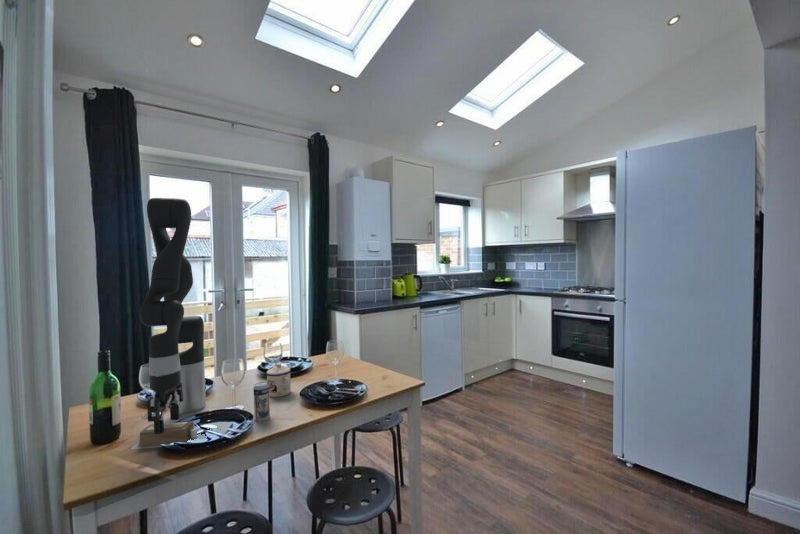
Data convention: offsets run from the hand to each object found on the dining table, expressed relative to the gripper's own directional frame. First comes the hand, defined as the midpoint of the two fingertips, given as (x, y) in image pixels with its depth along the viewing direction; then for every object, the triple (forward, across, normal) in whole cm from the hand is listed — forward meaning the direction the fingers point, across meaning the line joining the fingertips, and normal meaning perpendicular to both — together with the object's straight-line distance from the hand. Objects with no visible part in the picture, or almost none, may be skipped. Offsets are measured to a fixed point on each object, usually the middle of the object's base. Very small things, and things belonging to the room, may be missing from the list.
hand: (167, 426), depth 103 cm
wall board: (+5, -3, +4) cm, 7 cm away
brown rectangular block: (+4, 0, 0) cm, 4 cm away
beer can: (+5, -11, +23) cm, 26 cm away
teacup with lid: (+6, -35, +24) cm, 43 cm away
